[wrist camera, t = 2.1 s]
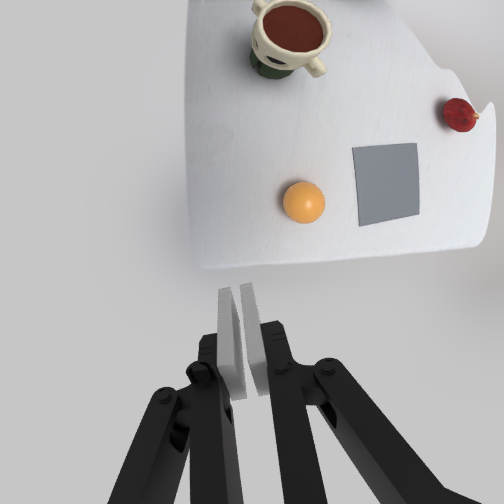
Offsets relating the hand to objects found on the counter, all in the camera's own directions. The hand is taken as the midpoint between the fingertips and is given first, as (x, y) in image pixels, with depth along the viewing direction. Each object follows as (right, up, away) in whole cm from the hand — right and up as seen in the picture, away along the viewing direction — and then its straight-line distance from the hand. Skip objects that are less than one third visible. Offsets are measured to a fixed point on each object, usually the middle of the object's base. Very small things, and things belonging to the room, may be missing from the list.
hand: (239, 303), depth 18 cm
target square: (+22, +14, +21) cm, 33 cm away
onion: (+34, +27, +16) cm, 46 cm away
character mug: (+4, +29, +13) cm, 32 cm away
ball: (+8, +10, +18) cm, 22 cm away
